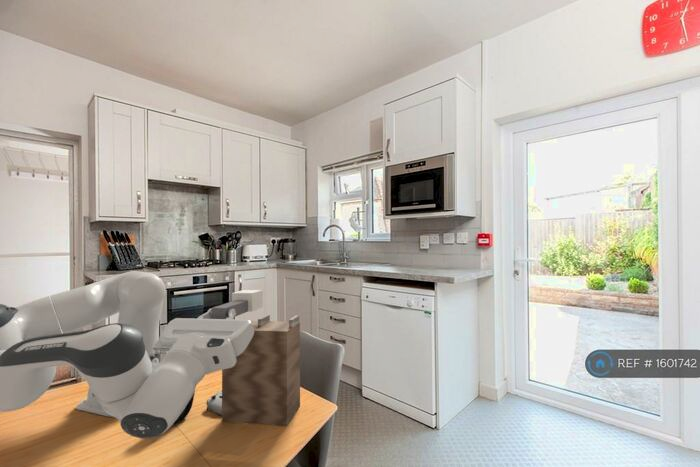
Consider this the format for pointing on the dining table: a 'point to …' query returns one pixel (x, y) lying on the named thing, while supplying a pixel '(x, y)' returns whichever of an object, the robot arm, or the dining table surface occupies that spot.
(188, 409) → the controller
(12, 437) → the dining table surface
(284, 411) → the brown wood grain box
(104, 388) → the robot arm
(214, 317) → the grey and white block
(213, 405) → the gaming controller
